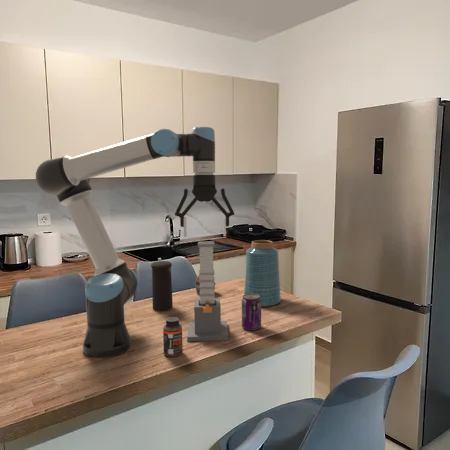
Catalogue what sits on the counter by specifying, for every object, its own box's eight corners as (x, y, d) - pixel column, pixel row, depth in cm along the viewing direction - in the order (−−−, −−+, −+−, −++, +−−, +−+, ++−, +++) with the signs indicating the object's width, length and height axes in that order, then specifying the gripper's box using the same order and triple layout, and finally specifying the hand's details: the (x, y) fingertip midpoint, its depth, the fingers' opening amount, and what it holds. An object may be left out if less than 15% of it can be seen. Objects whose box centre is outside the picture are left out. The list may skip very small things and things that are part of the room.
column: (199, 309, 140) (197, 244, 137) (199, 304, 146) (198, 241, 143) (215, 309, 140) (214, 243, 138) (215, 304, 146) (214, 241, 143)
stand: (187, 341, 137) (186, 307, 136) (189, 325, 151) (188, 294, 149) (228, 340, 138) (228, 306, 136) (226, 324, 152) (226, 293, 150)
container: (177, 306, 173) (176, 260, 170) (163, 313, 165) (161, 265, 163) (162, 303, 177) (160, 258, 175) (147, 309, 170) (145, 262, 167)
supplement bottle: (174, 359, 124) (173, 323, 122) (159, 355, 127) (158, 320, 126) (186, 352, 129) (185, 317, 127) (171, 347, 132) (170, 314, 131)
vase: (283, 307, 170) (283, 244, 166) (244, 307, 170) (243, 245, 167) (278, 295, 186) (278, 238, 183) (243, 296, 186) (242, 238, 183)
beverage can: (260, 332, 144) (259, 299, 143) (240, 330, 146) (240, 298, 144) (262, 324, 151) (262, 293, 150) (243, 323, 152) (243, 292, 151)
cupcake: (193, 296, 187) (192, 275, 186) (197, 290, 196) (197, 270, 195) (213, 297, 185) (213, 275, 184) (217, 291, 195) (216, 270, 194)
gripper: (166, 174, 133) (167, 238, 136) (241, 173, 134) (241, 237, 137) (168, 174, 140) (169, 234, 143) (239, 173, 141) (240, 233, 144)
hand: (205, 236), depth 140 cm, fingers open, 13 cm apart
